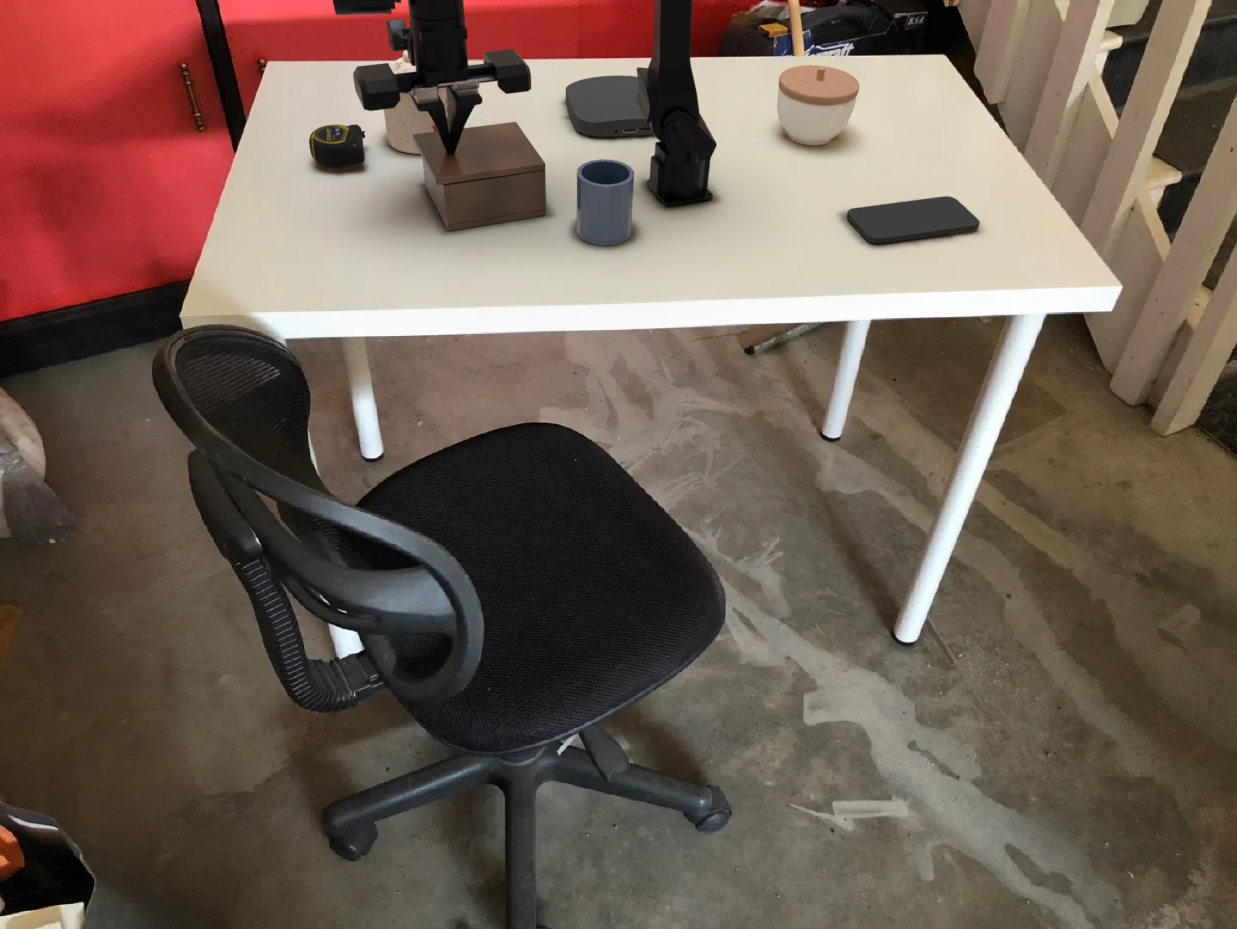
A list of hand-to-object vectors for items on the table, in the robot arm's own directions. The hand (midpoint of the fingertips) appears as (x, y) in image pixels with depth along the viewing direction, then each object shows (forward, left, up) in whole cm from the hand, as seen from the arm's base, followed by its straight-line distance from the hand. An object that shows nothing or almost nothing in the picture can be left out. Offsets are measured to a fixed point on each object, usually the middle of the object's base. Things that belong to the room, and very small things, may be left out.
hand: (450, 152), depth 109 cm
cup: (-15, +12, -7) cm, 20 cm away
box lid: (-3, 0, -1) cm, 3 cm away
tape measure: (+10, -15, -7) cm, 20 cm away
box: (-4, 0, -7) cm, 8 cm away
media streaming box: (-29, -17, -7) cm, 34 cm away
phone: (-52, +22, -7) cm, 56 cm away
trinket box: (-52, -3, -7) cm, 52 cm away
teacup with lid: (-1, -19, -7) cm, 21 cm away
